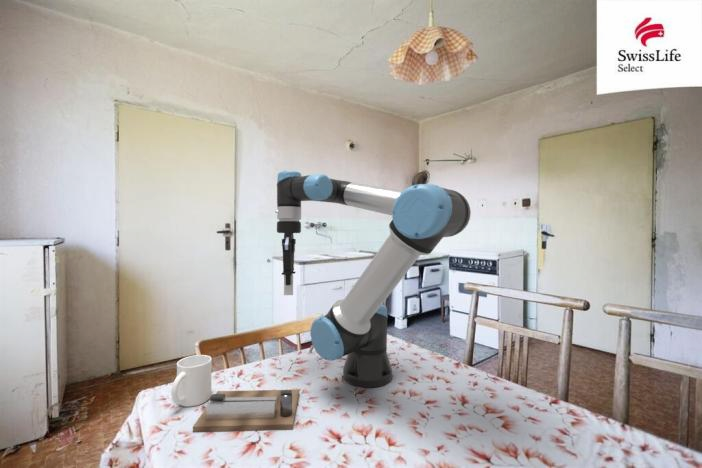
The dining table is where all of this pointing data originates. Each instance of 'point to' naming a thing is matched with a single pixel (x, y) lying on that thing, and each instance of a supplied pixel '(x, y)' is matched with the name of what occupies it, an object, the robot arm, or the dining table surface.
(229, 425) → the board
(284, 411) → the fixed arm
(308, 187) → the robot arm
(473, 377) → the dining table surface
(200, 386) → the mug
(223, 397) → the light grey long bar
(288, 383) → the dining table surface
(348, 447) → the dining table surface
